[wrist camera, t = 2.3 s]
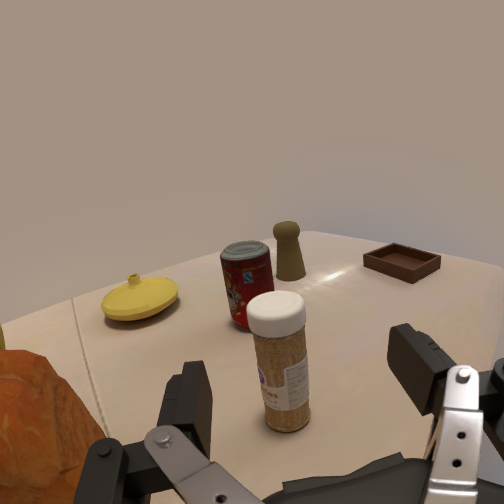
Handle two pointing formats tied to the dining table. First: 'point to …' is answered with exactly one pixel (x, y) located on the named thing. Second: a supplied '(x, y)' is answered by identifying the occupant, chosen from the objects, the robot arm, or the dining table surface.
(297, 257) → the chess piece
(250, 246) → the soda can
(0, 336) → the flower pot
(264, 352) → the sprinkles bottle
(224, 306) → the dining table surface
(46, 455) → the bread
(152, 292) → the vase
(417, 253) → the serving tray
